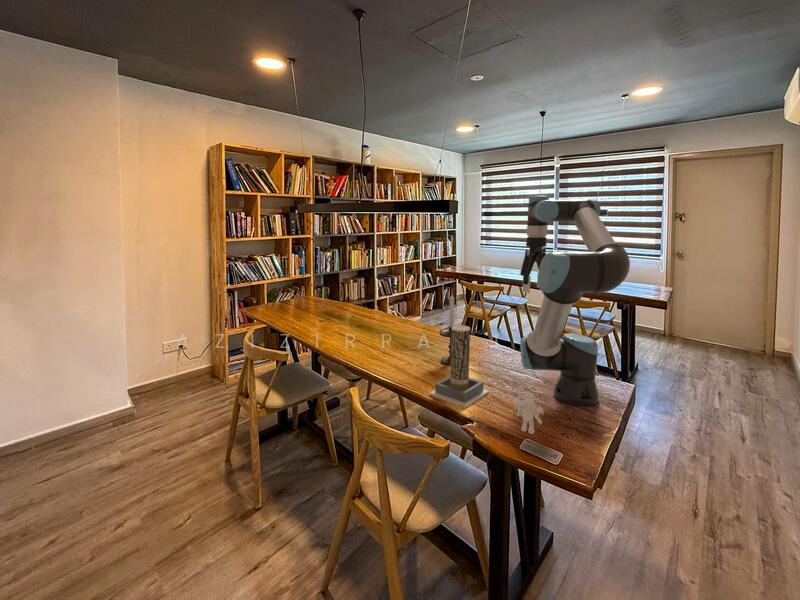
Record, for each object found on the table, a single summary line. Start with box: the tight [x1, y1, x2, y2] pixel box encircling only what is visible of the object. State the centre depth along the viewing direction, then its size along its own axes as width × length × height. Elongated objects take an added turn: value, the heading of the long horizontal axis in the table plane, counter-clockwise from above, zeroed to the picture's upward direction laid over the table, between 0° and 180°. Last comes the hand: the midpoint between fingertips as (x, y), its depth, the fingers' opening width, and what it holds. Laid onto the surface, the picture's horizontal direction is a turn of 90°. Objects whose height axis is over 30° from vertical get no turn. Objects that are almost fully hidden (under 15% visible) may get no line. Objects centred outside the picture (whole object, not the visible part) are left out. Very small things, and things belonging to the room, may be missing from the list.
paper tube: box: [449, 324, 471, 391], centre depth 147 cm, size 7×7×25 cm
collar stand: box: [429, 375, 490, 409], centre depth 149 cm, size 16×16×4 cm
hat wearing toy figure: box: [514, 393, 545, 435], centre depth 122 cm, size 9×4×12 cm, turn 48°
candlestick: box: [439, 287, 455, 366], centre depth 180 cm, size 11×11×35 cm
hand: (533, 289), depth 159 cm, fingers open, 13 cm apart
